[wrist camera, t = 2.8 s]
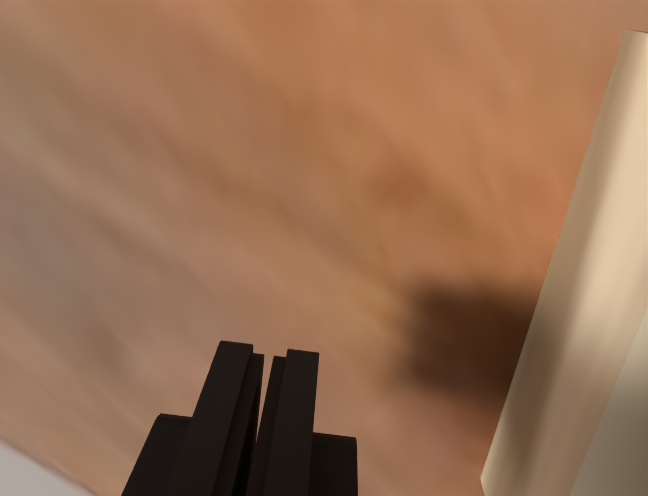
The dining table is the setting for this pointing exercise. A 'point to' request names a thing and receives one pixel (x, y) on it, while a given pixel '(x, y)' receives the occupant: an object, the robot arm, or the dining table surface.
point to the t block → (589, 322)
